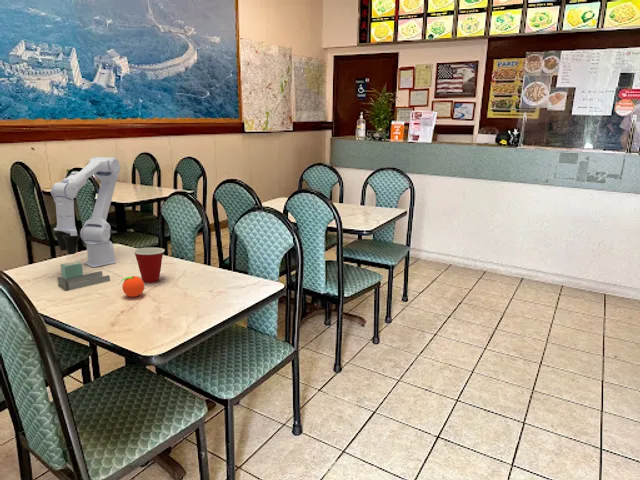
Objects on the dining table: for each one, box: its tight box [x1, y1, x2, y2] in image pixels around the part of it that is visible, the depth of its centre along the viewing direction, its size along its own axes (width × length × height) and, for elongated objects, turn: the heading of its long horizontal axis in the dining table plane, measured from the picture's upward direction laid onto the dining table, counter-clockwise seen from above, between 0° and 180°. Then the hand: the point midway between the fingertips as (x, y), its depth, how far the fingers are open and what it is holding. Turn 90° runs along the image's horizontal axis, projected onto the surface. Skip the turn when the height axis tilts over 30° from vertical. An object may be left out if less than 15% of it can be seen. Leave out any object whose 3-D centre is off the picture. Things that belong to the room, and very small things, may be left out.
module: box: [60, 260, 84, 279], centre depth 169 cm, size 6×4×5 cm, turn 138°
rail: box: [57, 270, 111, 292], centre depth 163 cm, size 15×7×3 cm, turn 138°
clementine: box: [118, 276, 145, 298], centre depth 152 cm, size 8×7×7 cm
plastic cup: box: [132, 247, 166, 284], centre depth 166 cm, size 11×11×12 cm
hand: (67, 252), depth 166 cm, fingers open, 7 cm apart
